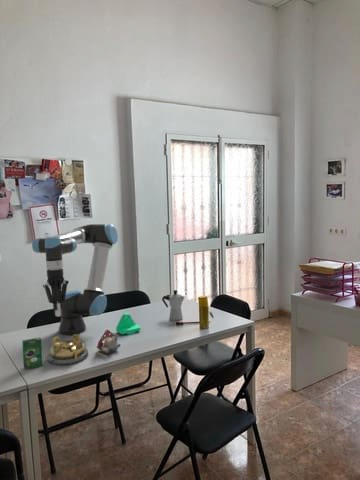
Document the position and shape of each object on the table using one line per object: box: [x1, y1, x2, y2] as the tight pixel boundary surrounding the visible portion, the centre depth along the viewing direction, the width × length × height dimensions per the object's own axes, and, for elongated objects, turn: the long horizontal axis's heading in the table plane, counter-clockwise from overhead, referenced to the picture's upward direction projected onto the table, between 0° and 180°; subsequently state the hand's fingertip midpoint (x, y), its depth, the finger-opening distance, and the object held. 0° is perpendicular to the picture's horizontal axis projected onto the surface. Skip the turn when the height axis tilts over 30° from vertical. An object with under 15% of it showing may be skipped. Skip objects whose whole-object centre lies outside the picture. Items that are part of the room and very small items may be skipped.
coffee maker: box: [161, 289, 186, 322], centre depth 243 cm, size 15×9×18 cm, turn 84°
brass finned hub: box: [49, 333, 86, 359], centre depth 188 cm, size 16×16×6 cm
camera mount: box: [115, 312, 141, 335], centre depth 221 cm, size 12×8×10 cm, turn 122°
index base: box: [46, 347, 89, 367], centre depth 188 cm, size 19×19×5 cm
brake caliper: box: [96, 329, 121, 358], centre depth 193 cm, size 11×11×12 cm
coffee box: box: [22, 337, 44, 371], centre depth 178 cm, size 8×3×13 cm, turn 120°
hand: (58, 315), depth 191 cm, fingers closed
